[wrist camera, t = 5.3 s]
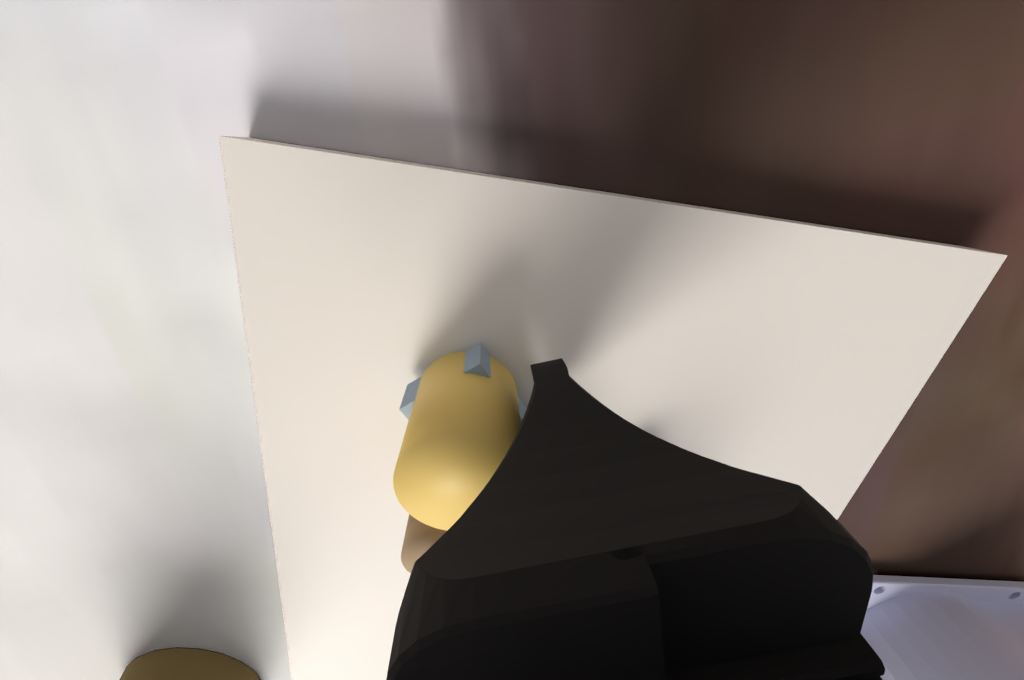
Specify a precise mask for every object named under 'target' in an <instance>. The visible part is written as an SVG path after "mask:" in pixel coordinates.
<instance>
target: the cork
mask: <svg viewBox="0 0 1024 680" xmlns="http://www.w3.org/2000/svg"><path fill="white" fill-rule="evenodd" d="M120 680H260V678H259V677H258V675H257V674H256V672H254V671H253V670H252V669H250V668H249V667H248V666H246V665H245V664H243V663H242V662H240V661H238V660H235V659H233V658H231V657H228V656H226V655H223V654H220V653H216V652H211V651H206V650H202V649H190V648H171V649H164V650H157V651H153V652H150V653H147V654H145V655H142V656H140V657H137V658H136V659H135V660H134V661H133V662H132V663H130V664H129V665H128V666H127V667H126V669H125V671H124V673H123V674H122V676H121V678H120Z"/></svg>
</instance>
